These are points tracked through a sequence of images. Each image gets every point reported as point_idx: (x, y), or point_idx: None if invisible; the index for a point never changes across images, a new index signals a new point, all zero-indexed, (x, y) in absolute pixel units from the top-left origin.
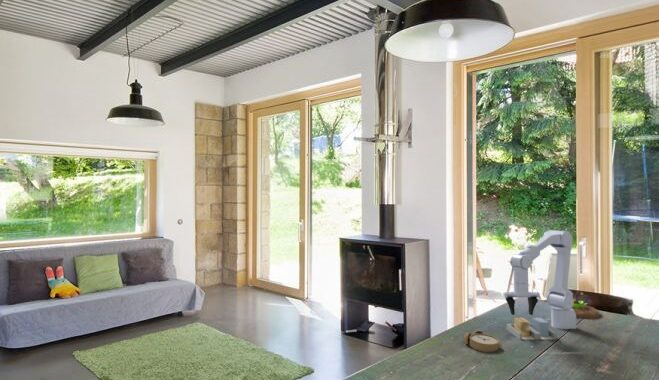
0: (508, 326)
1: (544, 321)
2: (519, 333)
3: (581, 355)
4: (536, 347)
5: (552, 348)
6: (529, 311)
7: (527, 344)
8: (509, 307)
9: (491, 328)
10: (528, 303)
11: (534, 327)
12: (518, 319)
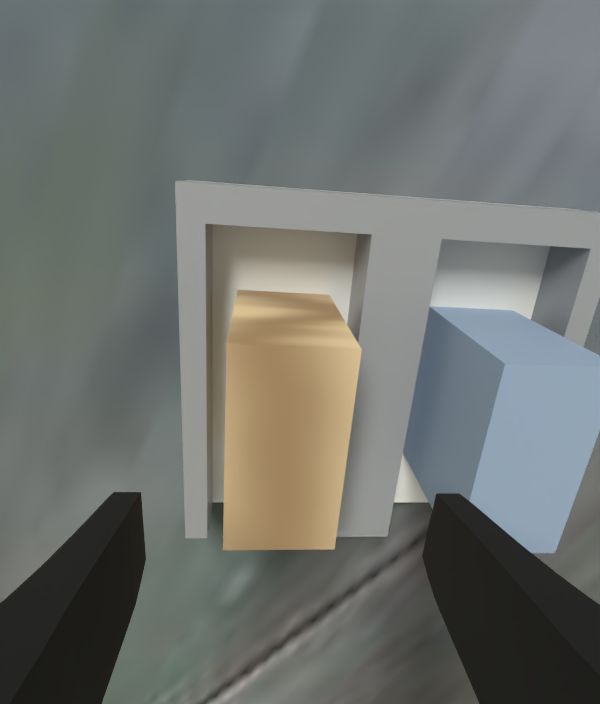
0: (180, 246)
1: (538, 520)
2: (189, 529)
3: (454, 690)
4: (263, 599)
5: (361, 611)
6: (450, 545)
7: (226, 551)
8: (30, 584)
9: (12, 61)
10: (560, 640)
11: (443, 370)
12: (251, 437)
